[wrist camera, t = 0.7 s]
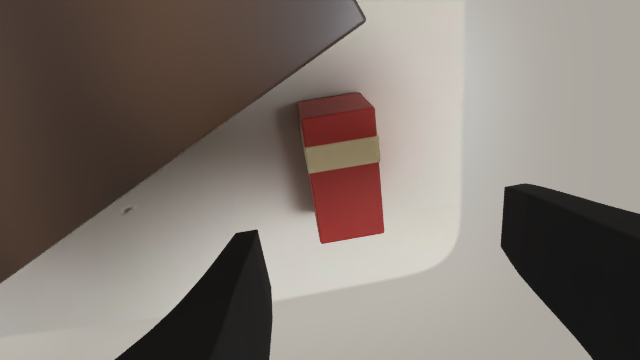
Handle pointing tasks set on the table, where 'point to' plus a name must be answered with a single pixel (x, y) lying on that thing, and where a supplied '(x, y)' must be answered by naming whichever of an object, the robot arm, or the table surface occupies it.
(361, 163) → the red rectangular block
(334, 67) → the table surface
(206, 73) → the cabinet
